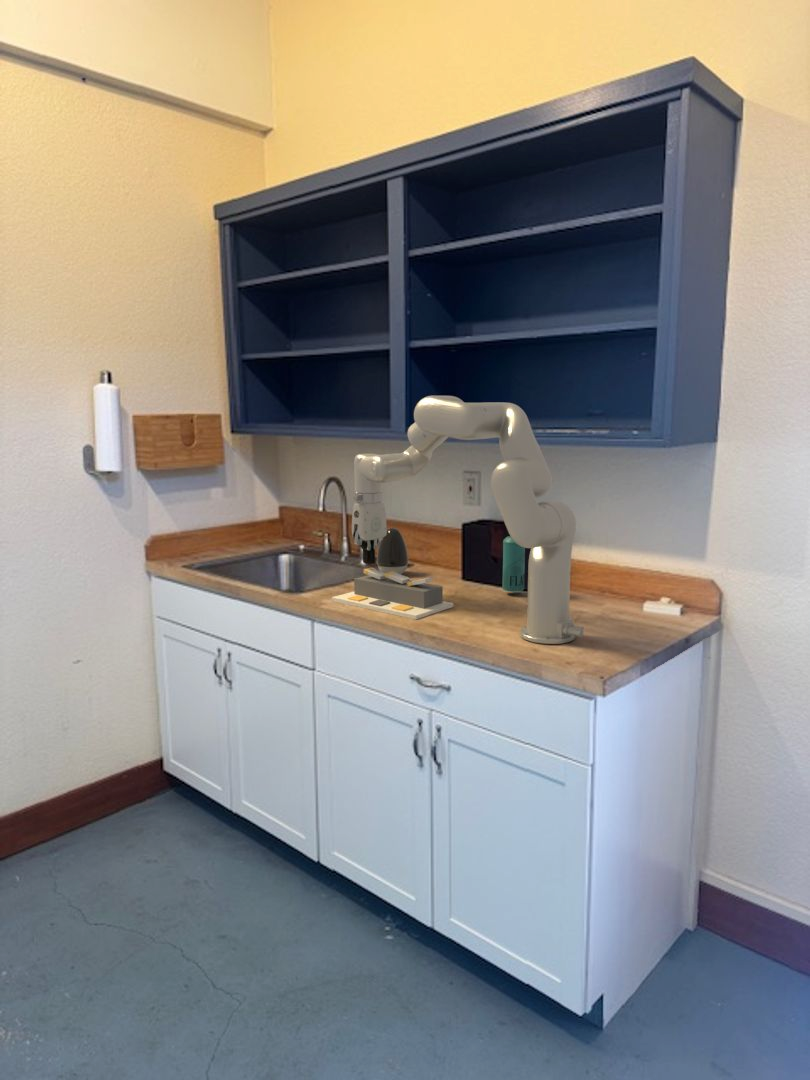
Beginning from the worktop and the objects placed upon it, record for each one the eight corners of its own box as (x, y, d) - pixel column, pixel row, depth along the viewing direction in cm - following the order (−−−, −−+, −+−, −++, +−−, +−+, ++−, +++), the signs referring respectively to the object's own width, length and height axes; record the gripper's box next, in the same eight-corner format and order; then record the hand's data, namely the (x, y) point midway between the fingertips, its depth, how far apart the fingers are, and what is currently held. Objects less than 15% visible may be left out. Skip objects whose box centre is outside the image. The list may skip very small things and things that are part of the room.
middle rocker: (409, 581, 207) (410, 578, 206) (401, 583, 204) (402, 580, 204) (392, 574, 210) (392, 571, 210) (384, 576, 208) (384, 573, 208)
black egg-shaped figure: (372, 572, 246) (371, 526, 243) (402, 570, 249) (402, 524, 246) (381, 579, 236) (380, 531, 234) (412, 576, 240) (412, 529, 237)
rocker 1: (387, 577, 212) (388, 574, 211) (379, 579, 209) (380, 576, 209) (371, 570, 215) (371, 567, 215) (363, 572, 213) (363, 569, 213)
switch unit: (453, 606, 203) (453, 586, 202) (415, 619, 191) (415, 598, 190) (370, 590, 222) (370, 571, 221) (331, 600, 210) (331, 581, 209)
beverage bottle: (507, 597, 212) (508, 527, 209) (498, 592, 219) (499, 523, 215) (528, 596, 214) (530, 526, 211) (518, 590, 220) (520, 522, 217)
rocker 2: (433, 580, 201) (432, 576, 201) (425, 582, 199) (424, 578, 199) (415, 584, 205) (414, 580, 205) (407, 586, 203) (406, 582, 203)
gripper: (359, 502, 202) (360, 569, 205) (396, 497, 213) (396, 560, 217) (339, 500, 207) (340, 565, 210) (376, 495, 218) (376, 557, 221)
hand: (368, 563), depth 213 cm, fingers closed
